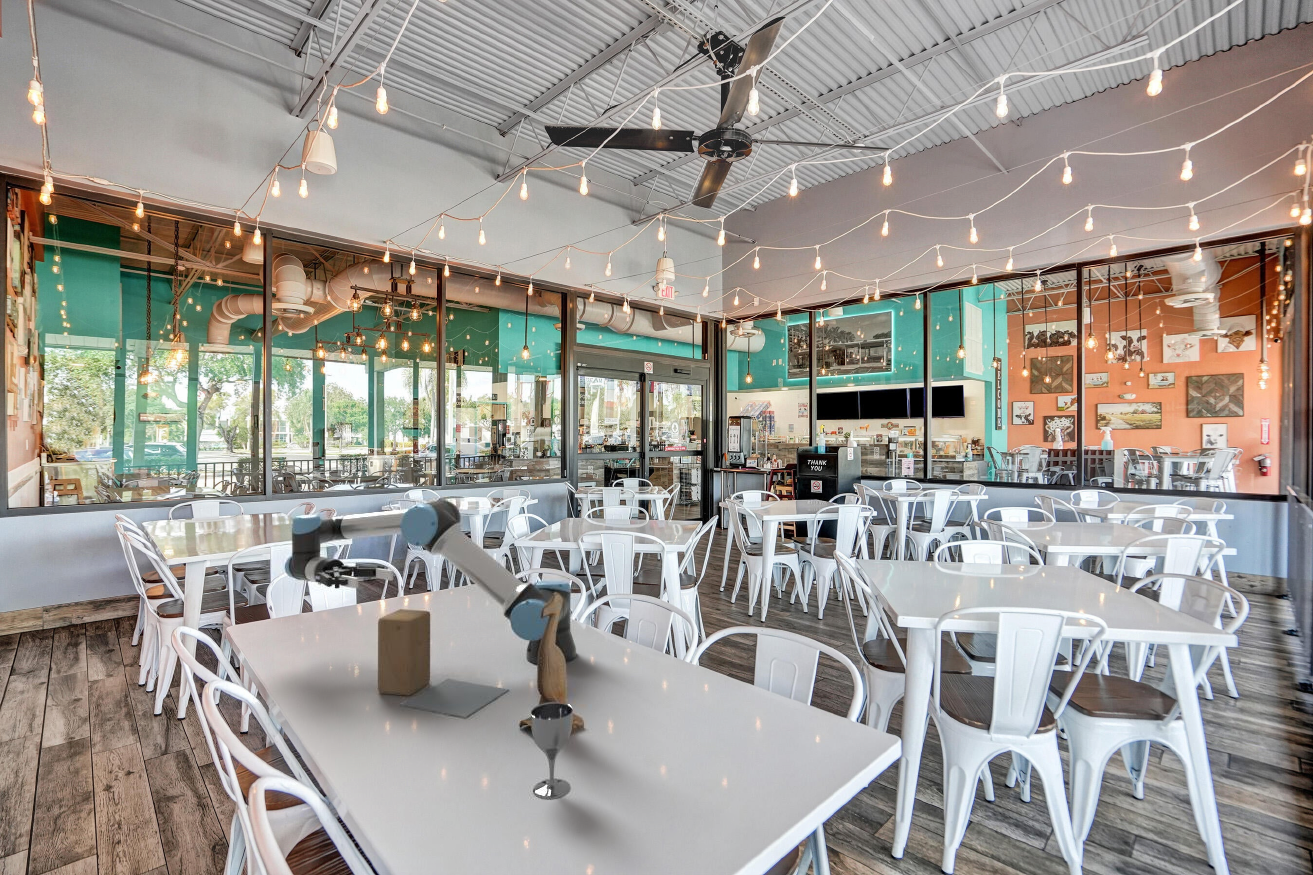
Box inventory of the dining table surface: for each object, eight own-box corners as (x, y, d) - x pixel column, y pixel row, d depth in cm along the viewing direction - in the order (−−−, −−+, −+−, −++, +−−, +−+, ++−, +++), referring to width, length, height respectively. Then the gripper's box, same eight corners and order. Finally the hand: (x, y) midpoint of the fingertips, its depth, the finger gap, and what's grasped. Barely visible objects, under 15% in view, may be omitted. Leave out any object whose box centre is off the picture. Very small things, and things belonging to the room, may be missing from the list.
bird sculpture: (516, 731, 145) (514, 593, 144) (555, 713, 154) (553, 583, 153) (548, 747, 138) (546, 602, 137) (586, 726, 147) (585, 591, 146)
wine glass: (533, 778, 124) (533, 702, 124) (573, 776, 125) (573, 701, 125) (528, 801, 116) (528, 720, 116) (571, 799, 117) (571, 718, 117)
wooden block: (410, 697, 163) (410, 620, 163) (376, 694, 165) (376, 618, 165) (431, 682, 173) (431, 610, 173) (399, 679, 175) (399, 608, 175)
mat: (508, 690, 168) (508, 689, 168) (465, 718, 151) (465, 716, 151) (448, 679, 175) (448, 678, 175) (400, 705, 158) (400, 704, 158)
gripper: (360, 576, 195) (409, 584, 185) (287, 591, 175) (336, 601, 165) (360, 552, 196) (409, 558, 185) (287, 564, 175) (336, 573, 165)
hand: (375, 579), depth 175 cm, fingers open, 10 cm apart
